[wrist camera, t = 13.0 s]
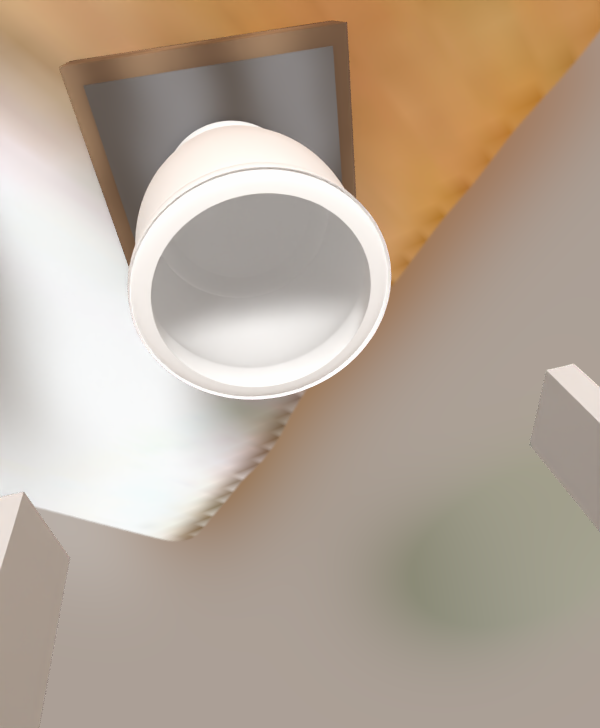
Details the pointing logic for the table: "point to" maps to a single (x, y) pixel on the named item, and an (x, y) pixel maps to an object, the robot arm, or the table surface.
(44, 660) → the robot arm
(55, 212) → the table surface
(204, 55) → the plinth
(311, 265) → the jar
